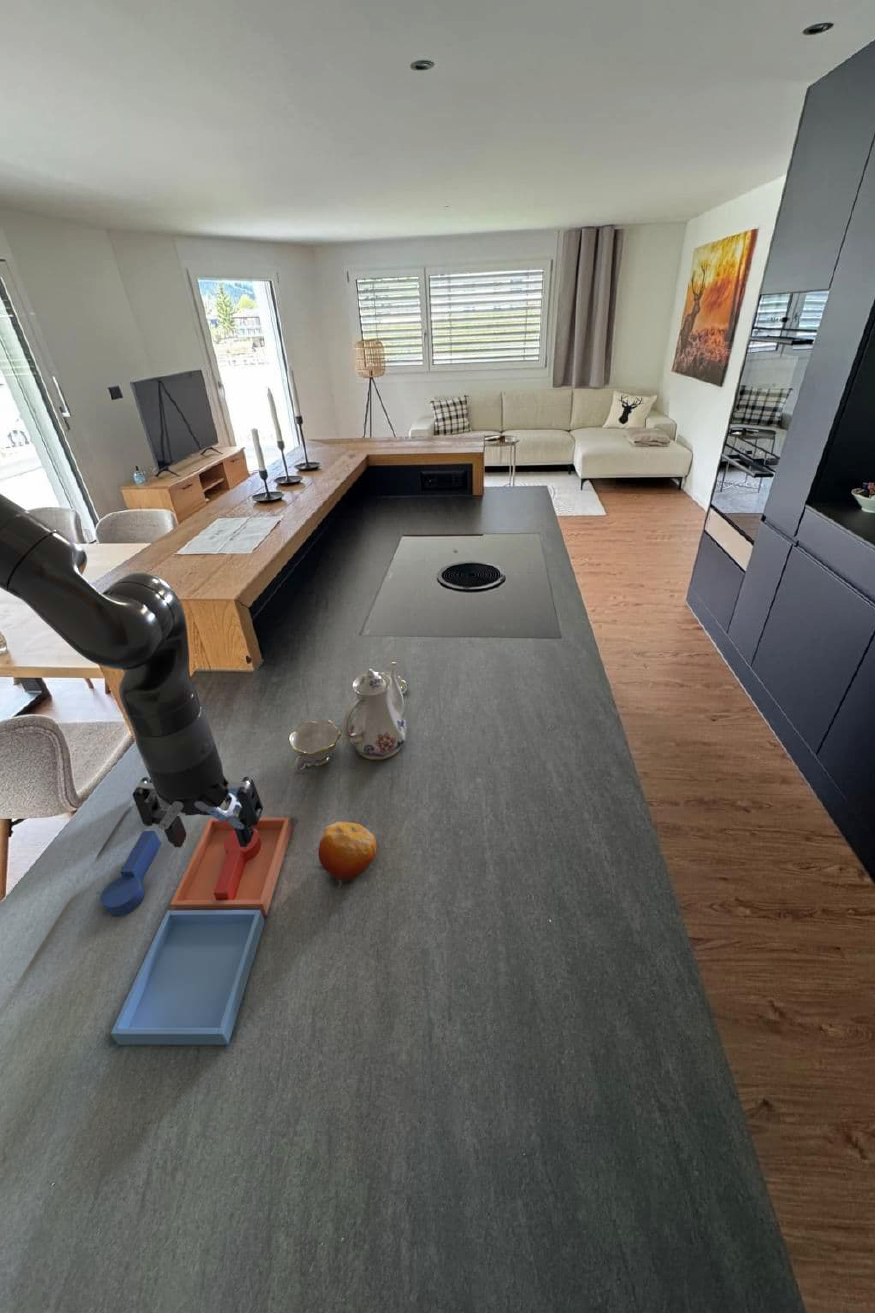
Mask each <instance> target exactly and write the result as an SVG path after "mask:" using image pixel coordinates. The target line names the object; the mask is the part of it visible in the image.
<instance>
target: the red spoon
mask: <svg viewBox="0 0 875 1313" xmlns="http://www.w3.org/2000/svg"><path fill="white" fill-rule="evenodd" d="M253 829H254V828H253ZM224 848H225V850H226V853H227V856H226V859H225V862H224V864H223V867H222V870H221V873H220V876H219V879H218V882H217V885H216V887H215V890H214V893H213V894H214V896H215V898H216V900H235V897H236V893H237V890H238V887H239V884H240V880H241V877H242V874H243V871H244V868H245V864H246V861H249V860H251V859H252V858H254V857H255V856H256V855H257V854H258V853H259V851H260V849H261V841H260V838H259V835H258V832H257V831H256V830H255V829H254V834H253V837H252V840H251V842H250V843H248V846H247V847H240V844H239V841H238V838H237V835H236V832H235V830H234V831H232V832H231V833H230V834H229V835H228V836H227V837H226V839H225V842H224Z"/></svg>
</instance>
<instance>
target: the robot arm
mask: <svg viewBox="0 0 875 1313" xmlns="http://www.w3.org/2000/svg"><path fill="white" fill-rule="evenodd" d="M87 564H88V555H87V552H86V551H85V550H84V548H83V547H82V546H81V545H80V544H79V543H77V542H76V541H75V540H74V539H72V538H70V537H69V536H67V535H66V534H64V533H63V532H62V531H60V530H58V529H57V528H56V527H53V526H52V525H50V524H49V523H47V522H45V521H44V520H43V519H41V518H40V517H38V516H37V515H35V514H33V513H32V512H30V511H28V510H26V509H25V508H24V507H22V506H21V505H19V504H18V503H16V502H14V501H13V500H11V499H10V498H8V497H7V496H5V495H4V494H2V493H0V589H2V590H4V591H5V592H7V593H9V594H11V595H12V596H14V597H16V598H18V599H19V600H21V601H23V602H24V603H25V604H26V605H27V606H28V607H29V608H30V609H31V610H32V611H33V612H34V613H35V614H36V615H37V616H38V617H39V618H40V619H41V620H42V621H43V622H44V623H45V624H47V626H49V628H51V629H52V630H53V631H54V632H55V633H56V634H57V635H58V636H59V637H60V638H62V639H63V641H64V642H66V643H67V644H68V646H70V647H71V648H72V649H73V650H74V651H75V652H77V654H79V655H81V656H82V657H83V658H85V659H86V660H88V661H89V662H91V663H94V664H95V665H98V666H101V667H103V668H108V669H111V670H116V671H117V670H118V671H124V672H123V675H122V677H121V679H120V681H119V686H118V696H119V699H120V702H121V705H122V707H123V710H124V712H125V715H126V718H127V719H128V722H129V724H130V727H131V729H132V732H133V736H134V741H135V744H136V747H137V750H138V752H139V754H140V758H141V759H142V762H143V764H144V766H145V769H146V772H147V773H148V776H149V777H147V776H146V777H142V778H141V780H140V781H139V782H138V784H137V786H136V787H135V789H134V790H133V792H132V798H133V800H134V803H135V806H136V809H137V812H138V814H139V817H140V819H141V822H142V824H143V825H144V826H146V827H151V826H153V824H154V825H157V826H158V827H159V829H161V830H163V831H164V834H165V836H166V838H167V841H168V842H169V843H170V844H172V845H173V848H182V847H183V846H184V843H185V841H186V838H187V831H186V828H185V826H184V823H183V821H182V818H181V815H180V813H181V814H185V816H196V815H200V816H212V817H213V818H216V819H218V820H219V821H220V822H224V821H227V822H228V823H229V824H231V825H232V826H234V827H235V832H236V835H237V838H238V841H239V844H240V847H247V846H248V843H250V842H251V840H252V837H253V834H254V829H253V827H252V826H255V825H257V824H258V821H259V818H261V816H262V813H263V810H264V806H263V803H262V800H261V798H260V796H259V793H258V792H259V791H258V790H257V787H256V785H255V780H254V779H253V778H252V777H251V776H244V777H243V778H242V780H241V781H238V782H237V781H236V782H230V781H229V780H228V779H227V778H226V777H225V775H224V771H223V763H222V761H221V757H220V754H219V751H218V748H217V745H216V742H215V738H214V734H213V733H212V729H211V726H210V723H209V720H208V718H207V716H206V714H205V713H204V711H203V708H202V706H201V703H200V701H199V697H198V694H197V692H196V689H195V685H194V682H193V680H192V677H191V673H190V647H189V637H188V636H189V635H188V626H187V619H186V614H185V611H184V608H183V605H182V603H181V600H180V599H179V597H178V595H177V594H176V593H175V591H174V590H173V588H172V587H170V585H169V584H167V583H166V581H165V580H163V579H161V578H159V577H158V576H155V575H153V574H150V573H145V572H134V573H130V574H127V575H124V576H122V577H121V578H118V579H117V580H116V581H114V583H112V584H111V585H110V586H109V587H108V588H107V589H105V590H104V591H103V592H101V591H99V590H97V588H96V587H94V585H93V584H92V583H90V582H89V581H88V580H87V579H86V578H85V577H84V576H83V574H84V572H85V571H86V567H87ZM159 799H160V800H162V801H164V802H165V803H166V804H168V807H167V808H166V809H163V808H162V806H161V803H160V801H159ZM224 802H225V804H224V807H223V809H221V808H220V807H221V806H222V804H223V803H224ZM234 812H235V813H237V814H238V815H236V814H234Z"/></svg>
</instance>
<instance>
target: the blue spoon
mask: <svg viewBox="0 0 875 1313" xmlns="http://www.w3.org/2000/svg"><path fill="white" fill-rule="evenodd" d="M161 845H162V842H161V840H160V838H159V836H158V834H157V832H156V830H143V831H142V832H141V834H140V836H139V838H138V839H137V841H136V842H135V844H134V846H133V848H132V850H131V851H130V852H129V855H128V856H127V858H126V860H125V862H124V863H123V865H122V867H121V869H120V870H119V874H120V877H118V878H115V879H113V880H112V881H111V882H110V883H108V884H107V885H106V886H105V887H104V889H103V890H102V892H101V894H100V903H101V904H102V906H103V908H104V909H105V911H106V912H107V914H108V915H110V916H113V917H120V916H121V917H122V916H125V915H127V914H130V913H131V912H132V911H134V910H135V909H137V907H139V906H140V905H141V903H142V902H143V900H144V897H145V888H144V886H143V884H142V881H143V879H144V878H145V875H146V873H147V872H148V869H149V868H150V866H151V864H152V862H153V860H154V858H155V856H156V855H157V853H158V850H160V847H161Z"/></svg>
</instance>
